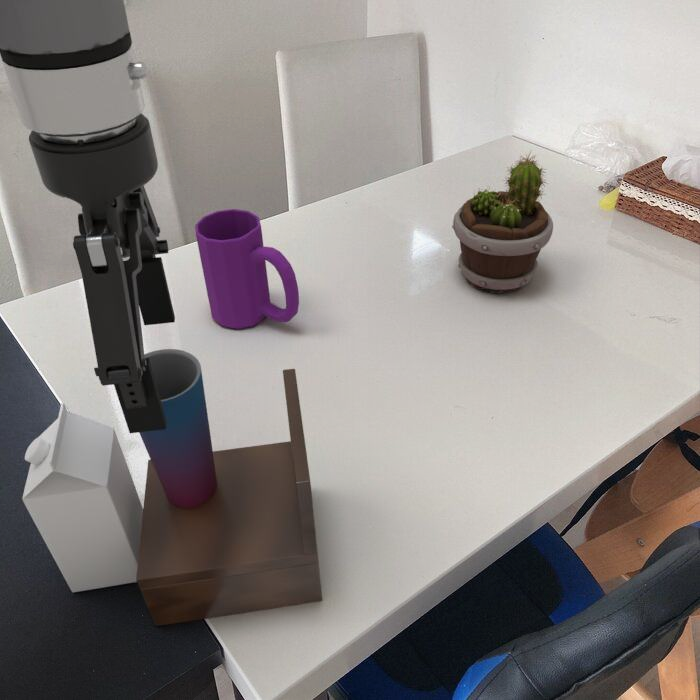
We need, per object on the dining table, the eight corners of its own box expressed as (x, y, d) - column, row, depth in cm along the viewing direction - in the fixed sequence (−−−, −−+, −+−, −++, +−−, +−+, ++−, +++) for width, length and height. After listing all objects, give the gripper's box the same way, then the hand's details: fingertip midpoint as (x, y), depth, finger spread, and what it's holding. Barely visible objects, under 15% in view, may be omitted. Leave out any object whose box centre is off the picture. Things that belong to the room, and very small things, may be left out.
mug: (237, 288, 108) (223, 202, 98) (318, 317, 101) (312, 228, 92) (198, 319, 102) (179, 230, 92) (282, 352, 95) (271, 260, 86)
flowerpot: (483, 314, 101) (498, 190, 88) (432, 264, 111) (439, 147, 99) (563, 289, 105) (589, 167, 92) (506, 243, 116) (522, 129, 103)
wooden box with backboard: (155, 626, 64) (106, 509, 53) (163, 507, 75) (124, 388, 64) (322, 600, 66) (310, 481, 54) (307, 487, 77) (294, 368, 65)
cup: (141, 495, 66) (101, 382, 57) (191, 451, 71) (162, 339, 61) (191, 527, 63) (158, 414, 54) (240, 480, 68) (217, 366, 58)
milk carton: (149, 523, 73) (103, 396, 61) (145, 582, 68) (94, 455, 56) (81, 534, 73) (21, 408, 60) (72, 594, 67) (4, 468, 55)
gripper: (128, 206, 34) (196, 478, 48) (159, 58, 53) (202, 283, 67) (-27, 220, 34) (86, 492, 47) (61, 64, 53) (124, 290, 66)
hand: (154, 370), depth 57 cm, fingers open, 13 cm apart
